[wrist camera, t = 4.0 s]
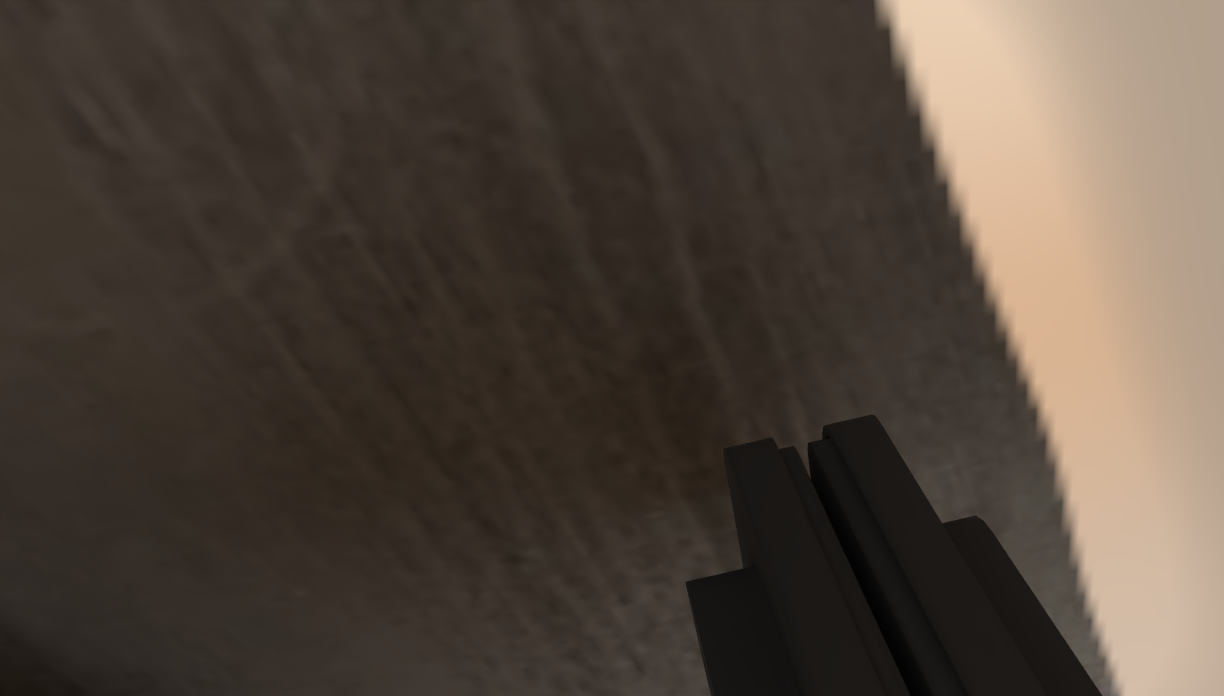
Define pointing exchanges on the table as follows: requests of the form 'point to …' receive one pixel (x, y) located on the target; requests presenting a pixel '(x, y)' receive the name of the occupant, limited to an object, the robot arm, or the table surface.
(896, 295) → the table surface
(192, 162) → the table surface
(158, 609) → the table surface
